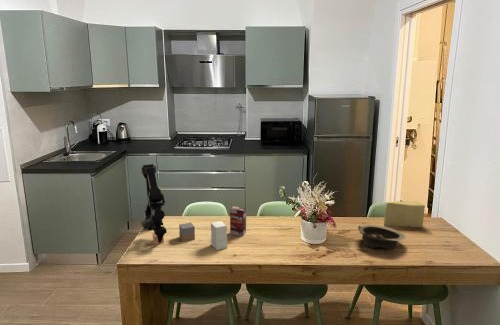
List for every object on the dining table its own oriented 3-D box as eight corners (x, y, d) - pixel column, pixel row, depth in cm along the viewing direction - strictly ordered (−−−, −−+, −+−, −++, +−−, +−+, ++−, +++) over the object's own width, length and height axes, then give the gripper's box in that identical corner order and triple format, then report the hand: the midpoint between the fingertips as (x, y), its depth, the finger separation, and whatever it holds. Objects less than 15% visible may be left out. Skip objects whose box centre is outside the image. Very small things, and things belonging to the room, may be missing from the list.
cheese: (386, 227, 233) (388, 204, 229) (381, 221, 242) (383, 199, 239) (423, 228, 232) (425, 204, 228) (417, 222, 241) (419, 199, 238)
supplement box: (229, 234, 224) (229, 208, 221) (233, 231, 229) (232, 206, 225) (243, 236, 221) (243, 210, 217) (246, 233, 225) (246, 207, 222)
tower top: (179, 230, 220) (179, 224, 219) (191, 228, 223) (191, 222, 222) (182, 235, 214) (182, 228, 213) (194, 233, 216) (194, 226, 216)
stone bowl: (355, 249, 203) (356, 233, 202) (359, 235, 227) (360, 219, 225) (405, 256, 195) (406, 239, 194) (404, 240, 218) (405, 224, 217)
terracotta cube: (153, 241, 216) (152, 232, 214) (161, 239, 218) (161, 231, 216) (154, 244, 211) (154, 236, 210) (163, 243, 213) (163, 234, 212)
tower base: (179, 237, 221) (179, 230, 220) (191, 235, 224) (191, 228, 223) (182, 242, 214) (182, 235, 214) (194, 239, 217) (194, 233, 216)
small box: (227, 248, 206) (227, 225, 203) (216, 250, 204) (215, 227, 201) (221, 242, 214) (221, 220, 211) (211, 244, 211) (210, 222, 208)
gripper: (138, 210, 216) (140, 236, 219) (144, 222, 199) (146, 249, 203) (158, 207, 220) (160, 233, 224) (166, 218, 204) (167, 245, 207)
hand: (158, 240), depth 214 cm, fingers open, 7 cm apart
